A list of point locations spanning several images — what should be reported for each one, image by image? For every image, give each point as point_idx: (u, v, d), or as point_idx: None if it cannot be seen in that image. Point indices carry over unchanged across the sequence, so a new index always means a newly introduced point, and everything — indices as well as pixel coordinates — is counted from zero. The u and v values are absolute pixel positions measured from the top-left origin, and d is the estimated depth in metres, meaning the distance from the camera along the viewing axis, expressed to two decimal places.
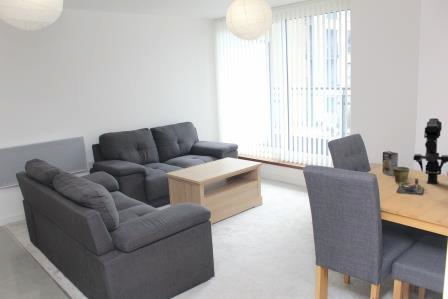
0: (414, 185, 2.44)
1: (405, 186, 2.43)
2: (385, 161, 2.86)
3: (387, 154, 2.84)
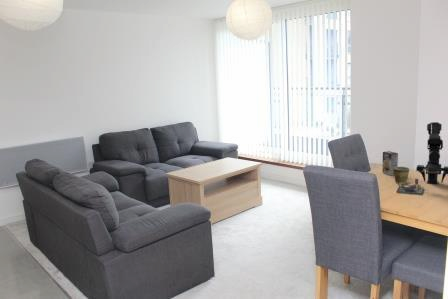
0: (414, 185, 2.44)
1: (405, 186, 2.43)
2: (386, 161, 2.86)
3: (387, 154, 2.84)
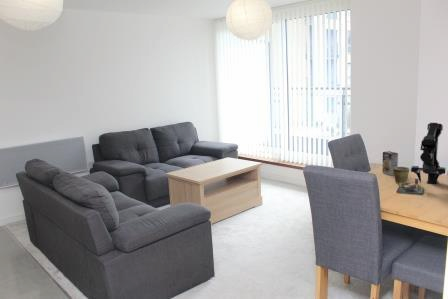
0: (414, 185, 2.44)
1: (405, 186, 2.43)
2: (386, 161, 2.86)
3: (387, 154, 2.84)
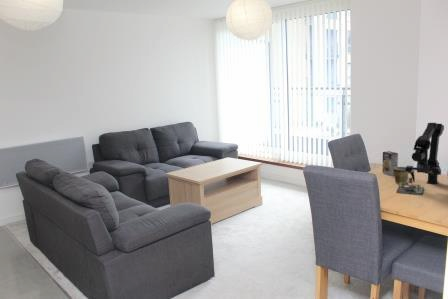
0: None
1: (408, 187, 2.41)
2: (386, 161, 2.86)
3: (387, 154, 2.84)
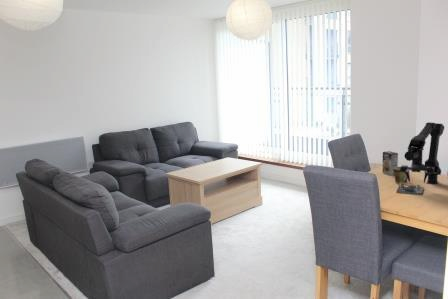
0: None
1: (412, 187, 2.41)
2: (386, 161, 2.86)
3: (387, 154, 2.84)
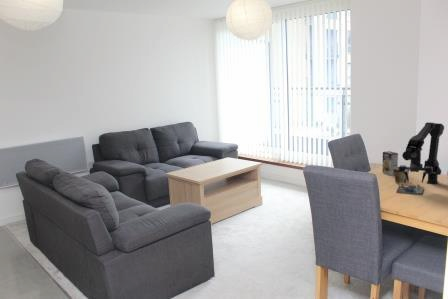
0: None
1: (412, 187, 2.41)
2: (386, 161, 2.86)
3: (387, 154, 2.84)
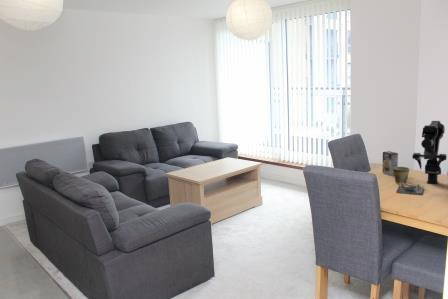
0: None
1: (412, 187, 2.41)
2: (386, 161, 2.86)
3: (387, 154, 2.84)
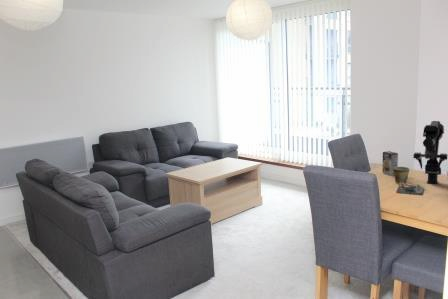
0: None
1: (412, 187, 2.41)
2: (386, 161, 2.86)
3: (387, 154, 2.84)
